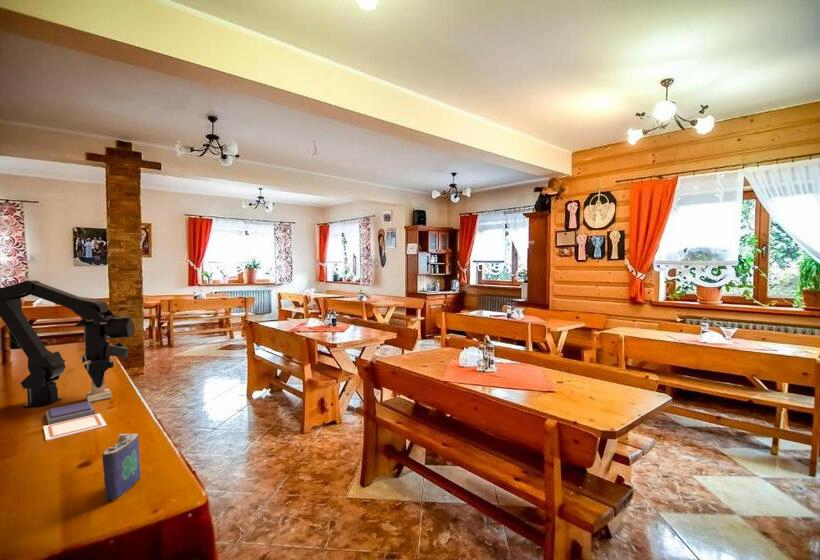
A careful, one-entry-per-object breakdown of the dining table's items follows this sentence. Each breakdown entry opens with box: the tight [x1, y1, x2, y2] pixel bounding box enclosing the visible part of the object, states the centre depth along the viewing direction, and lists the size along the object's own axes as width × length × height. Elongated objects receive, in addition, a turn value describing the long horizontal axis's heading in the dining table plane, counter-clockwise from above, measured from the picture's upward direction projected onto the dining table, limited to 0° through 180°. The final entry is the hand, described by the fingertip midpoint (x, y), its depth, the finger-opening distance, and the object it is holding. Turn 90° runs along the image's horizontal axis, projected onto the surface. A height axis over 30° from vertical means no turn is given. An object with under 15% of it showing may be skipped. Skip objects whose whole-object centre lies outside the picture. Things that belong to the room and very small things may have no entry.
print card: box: [42, 413, 108, 442], centre depth 104 cm, size 12×12×1 cm
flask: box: [101, 433, 142, 503], centre depth 75 cm, size 9×3×11 cm, turn 8°
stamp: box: [84, 376, 113, 404], centre depth 126 cm, size 6×6×8 cm
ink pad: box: [45, 401, 96, 425], centre depth 113 cm, size 10×10×2 cm
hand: (98, 386), depth 126 cm, fingers closed on stamp, 3 cm apart
